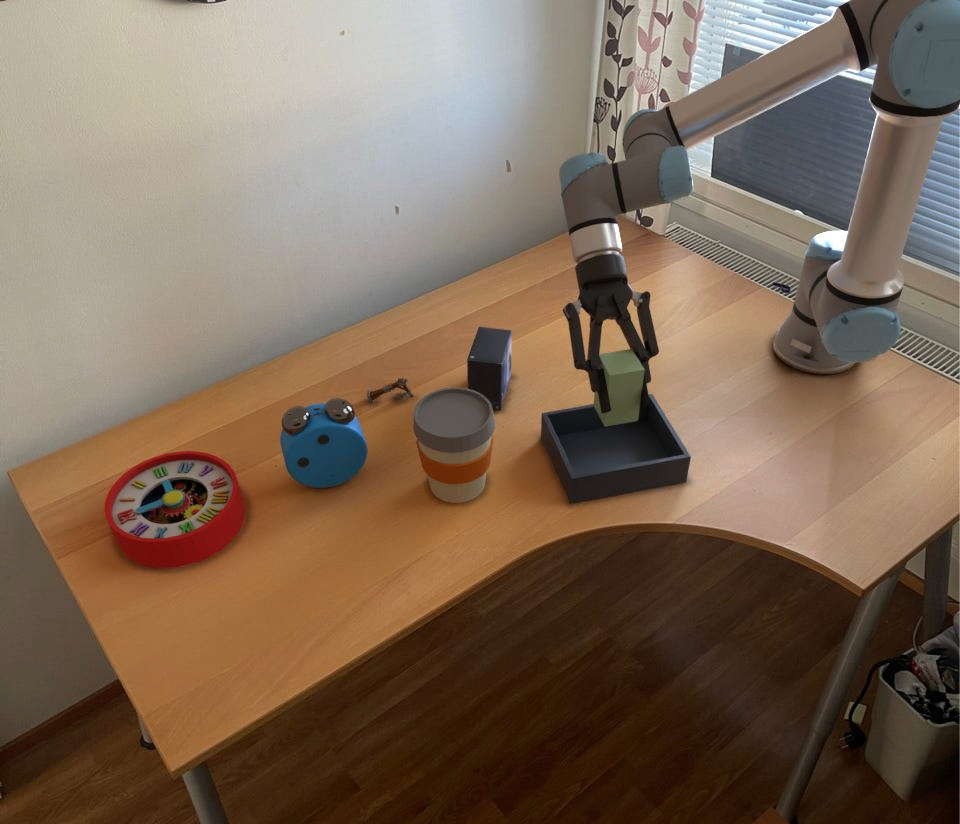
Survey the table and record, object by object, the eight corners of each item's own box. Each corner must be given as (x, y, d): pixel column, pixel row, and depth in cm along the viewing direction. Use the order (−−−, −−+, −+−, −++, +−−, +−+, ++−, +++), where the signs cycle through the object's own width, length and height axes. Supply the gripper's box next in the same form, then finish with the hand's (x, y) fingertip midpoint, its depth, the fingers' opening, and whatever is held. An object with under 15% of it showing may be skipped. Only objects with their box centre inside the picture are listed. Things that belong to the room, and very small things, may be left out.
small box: (503, 412, 160) (502, 363, 152) (467, 408, 161) (464, 360, 154) (513, 376, 167) (513, 328, 160) (478, 373, 168) (477, 325, 161)
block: (625, 399, 146) (631, 348, 139) (638, 421, 142) (644, 369, 135) (593, 405, 145) (597, 354, 138) (604, 426, 141) (609, 375, 134)
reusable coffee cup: (480, 518, 141) (477, 446, 131) (406, 500, 145) (398, 428, 134) (506, 467, 150) (506, 395, 139) (436, 451, 153) (430, 379, 142)
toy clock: (255, 509, 136) (122, 561, 129) (263, 536, 140) (134, 587, 133) (214, 435, 148) (91, 478, 142) (222, 462, 152) (103, 505, 146)
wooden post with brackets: (417, 397, 162) (405, 379, 159) (378, 413, 164) (366, 395, 161) (417, 391, 163) (405, 372, 160) (379, 406, 166) (366, 389, 163)
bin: (649, 419, 157) (652, 393, 154) (686, 482, 146) (691, 456, 142) (540, 438, 155) (541, 412, 151) (570, 504, 143) (571, 478, 139)
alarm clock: (365, 456, 152) (353, 385, 142) (372, 480, 148) (361, 408, 138) (287, 473, 150) (270, 402, 139) (293, 498, 146) (276, 427, 135)
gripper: (647, 258, 143) (673, 402, 143) (535, 274, 140) (561, 421, 140) (664, 243, 136) (691, 395, 136) (545, 260, 133) (573, 416, 133)
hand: (625, 408), depth 138 cm, fingers closed on block, 5 cm apart
